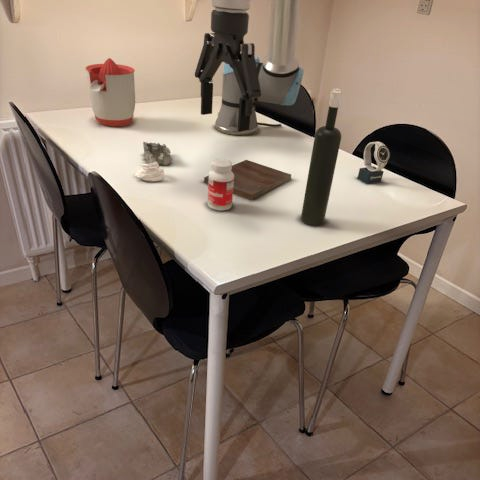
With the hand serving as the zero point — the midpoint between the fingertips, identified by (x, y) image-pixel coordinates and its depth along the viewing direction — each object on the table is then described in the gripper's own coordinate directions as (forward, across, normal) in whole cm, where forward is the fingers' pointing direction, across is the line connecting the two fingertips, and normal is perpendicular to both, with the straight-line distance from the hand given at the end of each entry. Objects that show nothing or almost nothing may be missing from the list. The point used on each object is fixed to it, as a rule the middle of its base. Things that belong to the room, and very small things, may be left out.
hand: (224, 122), depth 107 cm
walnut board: (+20, -9, +17) cm, 28 cm away
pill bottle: (+21, 0, 0) cm, 21 cm away
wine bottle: (+20, +18, +15) cm, 31 cm away
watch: (+20, +8, +50) cm, 55 cm away
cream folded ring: (+20, -24, -6) cm, 32 cm away
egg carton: (+20, -35, +3) cm, 41 cm away
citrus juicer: (+20, -72, +8) cm, 75 cm away
